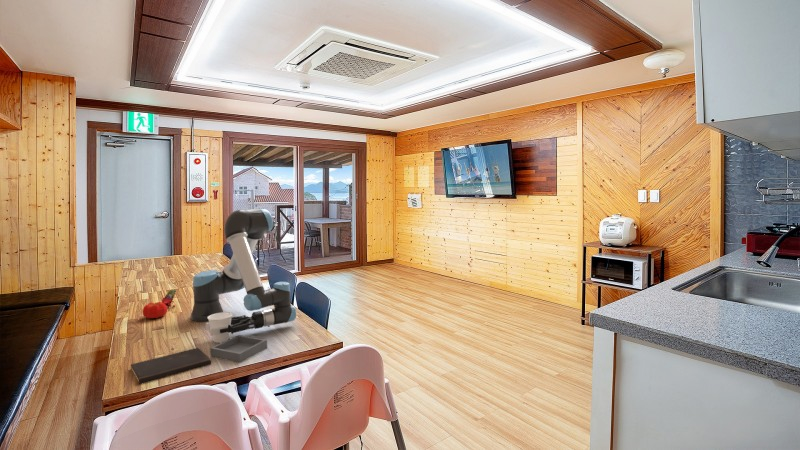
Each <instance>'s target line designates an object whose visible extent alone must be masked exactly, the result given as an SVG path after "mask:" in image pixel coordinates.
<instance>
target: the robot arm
mask: <svg viewBox="0 0 800 450" xmlns="http://www.w3.org/2000/svg"><path fill="white" fill-rule="evenodd" d="M273 228H274V220H273V216H272V214H271V212H270V211H269V210H267V209H266V208H254V209H253V208H252V209H251V208H249V209H237V210H234V211H232V212H231V213H230V214H229V215H228V216H227V218H226V220H225V222H224V227H223V231H224V237H225V240H226V242H227V243H229V245H230V248H231V251H232V256H231V258H230V260H229V263H227V264H225V266H224V267H223V269H222V271H218V270H215V269H211V270H205V271H201V272H198V273H196V274H194V276H193V279H192V289H193V290H192V291H193V307H192V311H191V313H190V320H191V321H193V322H206V324H205V325H206V330H207V331H208V330H210V336H211V337H212V336H213V335H217V334H222V333H227V332H228V333H229V334H232V335H233V334H236V333H240V332H242V331H243V332H244V331H247V330H252V329H261V328H265V327H268V328H269V327H271V326H275V325H280V324H286V323H290V322H294V321H295V320H296V319H297V309H296V307H295V306H294V305H292V304H291V285H290V283H289V282H287V281H277V282H275V283H273V287H272V288H270V289H265V287H264V285H263V282H262V279H261V276H260V273H259V270H258V267H257V264H256V260H255V259H254V256H253V252H254V250H255V248H256V247H257V244H258V241H259V240H262V239H263V237H264V236H265V234H266V232H267V233H268V232H271V231H272V229H273ZM244 289H245V292H246V295H245V296H244V298H243V306H244V308H245V310H247V311H249V312H252V313H251V316H248V315H246V314H244V315H240V316H239V315H238V316H232V318H231V325H228V326H223V327H218V328H213V329H211V328H210V324H209V320H208V316H210V315H212V314H216V313H224V309H223V307H222V305H221V302H220V295H223V294H227V293H233V292H238V291H241V290H244ZM272 306H273V307H274V308H270V309H264V308H268V307H272ZM260 309H264V310H260ZM256 310H257V311H256ZM259 310H260V311H259Z"/></svg>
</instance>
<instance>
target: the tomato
mask: <svg viewBox="0 0 800 450" xmlns="http://www.w3.org/2000/svg"><path fill="white" fill-rule="evenodd" d="M167 313H168V306H166V305H165V304H164V303H162V301H157V302H156V301H155V302H149V303H147V304H145V305H144V307H143V309H142V315H143V317H144V318H146V319H149V318H156V319H158V318H162V316H163V317H164V316H165V315H167Z"/></svg>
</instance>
